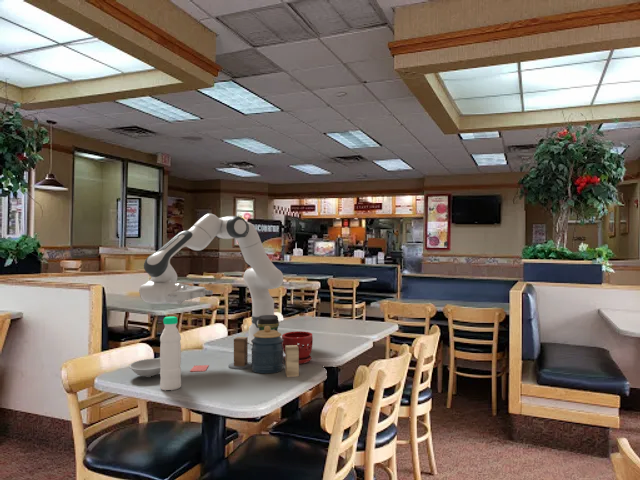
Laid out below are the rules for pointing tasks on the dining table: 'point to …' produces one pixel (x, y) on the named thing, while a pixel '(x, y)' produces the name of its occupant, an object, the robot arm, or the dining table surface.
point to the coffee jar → (268, 322)
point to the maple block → (292, 360)
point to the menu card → (199, 368)
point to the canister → (267, 351)
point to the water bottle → (170, 355)
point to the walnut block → (240, 351)
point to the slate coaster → (240, 366)
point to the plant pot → (303, 339)
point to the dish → (146, 367)
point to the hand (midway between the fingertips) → (208, 293)
